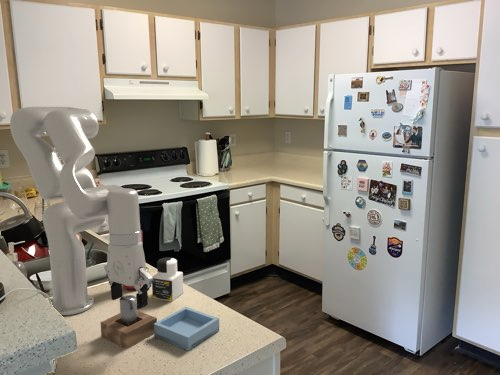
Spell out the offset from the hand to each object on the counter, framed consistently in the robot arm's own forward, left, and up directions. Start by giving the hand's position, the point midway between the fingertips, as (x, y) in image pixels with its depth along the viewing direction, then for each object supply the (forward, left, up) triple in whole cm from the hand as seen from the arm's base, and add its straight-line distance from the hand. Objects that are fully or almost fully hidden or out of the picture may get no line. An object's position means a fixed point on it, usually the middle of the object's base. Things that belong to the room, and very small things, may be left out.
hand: (129, 302), depth 114 cm
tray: (+11, +9, -9) cm, 17 cm away
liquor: (-24, +21, -9) cm, 33 cm away
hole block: (-1, 0, -9) cm, 9 cm away
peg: (-1, 0, -9) cm, 9 cm away
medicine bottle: (-10, +23, -9) cm, 27 cm away
